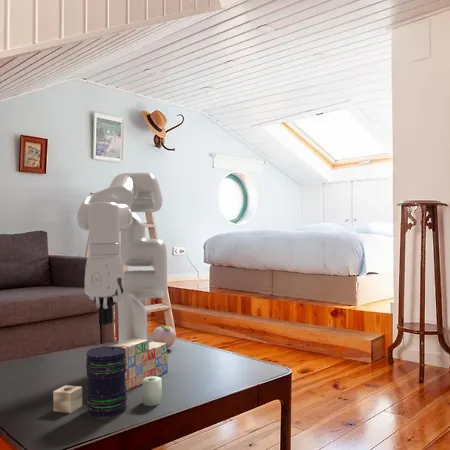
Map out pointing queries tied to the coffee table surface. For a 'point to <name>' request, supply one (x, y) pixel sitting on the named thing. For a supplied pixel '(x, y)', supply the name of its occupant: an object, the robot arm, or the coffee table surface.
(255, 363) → the coffee table surface
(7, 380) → the coffee table surface
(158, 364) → the stack of blocks
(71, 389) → the maple cube
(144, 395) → the sage cylinder
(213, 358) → the coffee table surface
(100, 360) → the storage jar
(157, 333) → the decorative fruit
